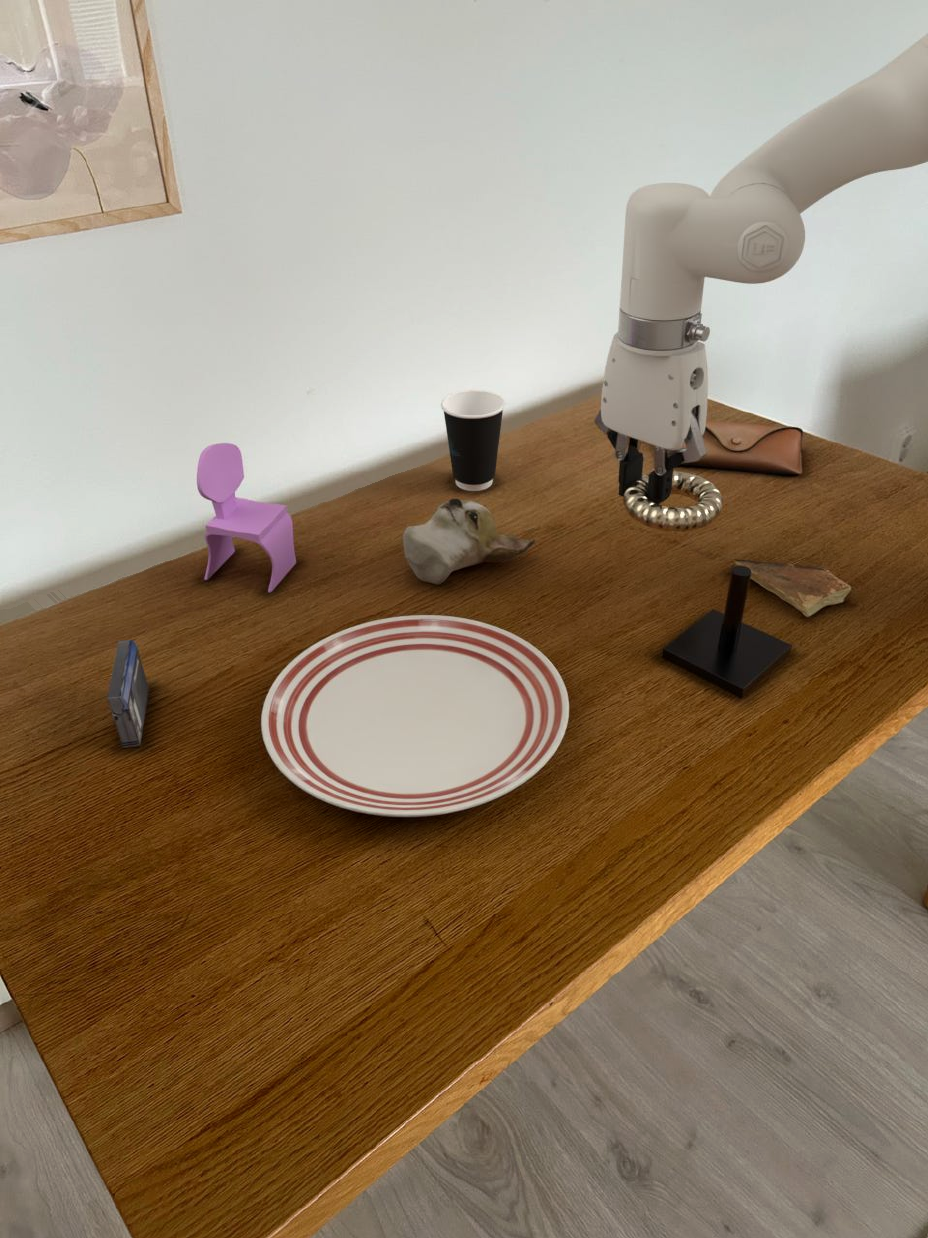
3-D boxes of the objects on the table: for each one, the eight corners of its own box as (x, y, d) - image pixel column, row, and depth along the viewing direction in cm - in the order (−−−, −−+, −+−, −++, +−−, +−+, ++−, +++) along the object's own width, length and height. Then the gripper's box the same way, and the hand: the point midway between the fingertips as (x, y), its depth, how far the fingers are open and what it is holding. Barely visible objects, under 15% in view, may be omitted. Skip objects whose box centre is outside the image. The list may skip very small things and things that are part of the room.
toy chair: (270, 598, 106) (249, 475, 97) (199, 585, 108) (173, 463, 100) (304, 558, 112) (288, 439, 103) (236, 546, 115) (215, 429, 106)
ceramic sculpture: (375, 499, 105) (479, 462, 114) (376, 567, 110) (475, 528, 119) (438, 539, 99) (543, 497, 107) (436, 610, 104) (537, 564, 112)
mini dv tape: (140, 746, 88) (125, 696, 84) (123, 748, 88) (107, 698, 84) (148, 688, 94) (135, 638, 91) (132, 689, 94) (118, 640, 91)
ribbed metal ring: (740, 507, 102) (743, 487, 100) (684, 547, 96) (687, 526, 95) (660, 477, 108) (661, 458, 106) (603, 513, 102) (604, 493, 100)
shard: (731, 570, 109) (733, 556, 108) (781, 550, 112) (784, 537, 111) (803, 619, 102) (806, 605, 101) (855, 597, 105) (859, 583, 104)
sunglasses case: (663, 464, 128) (669, 412, 128) (662, 467, 135) (667, 418, 134) (806, 475, 125) (813, 422, 125) (797, 478, 132) (803, 428, 132)
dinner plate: (235, 678, 95) (229, 651, 93) (490, 609, 104) (491, 583, 102) (314, 888, 75) (309, 859, 73) (624, 781, 84) (627, 753, 82)
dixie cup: (430, 484, 126) (427, 405, 119) (469, 461, 131) (468, 383, 124) (479, 503, 122) (478, 422, 115) (517, 479, 127) (518, 399, 120)
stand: (789, 654, 97) (810, 568, 91) (741, 698, 92) (759, 610, 86) (711, 617, 102) (725, 534, 96) (661, 657, 97) (673, 571, 91)
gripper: (755, 335, 90) (729, 509, 101) (613, 298, 100) (603, 461, 111) (710, 359, 86) (688, 538, 97) (566, 318, 95) (561, 485, 106)
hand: (643, 495), depth 104 cm, fingers closed on ribbed metal ring, 2 cm apart
